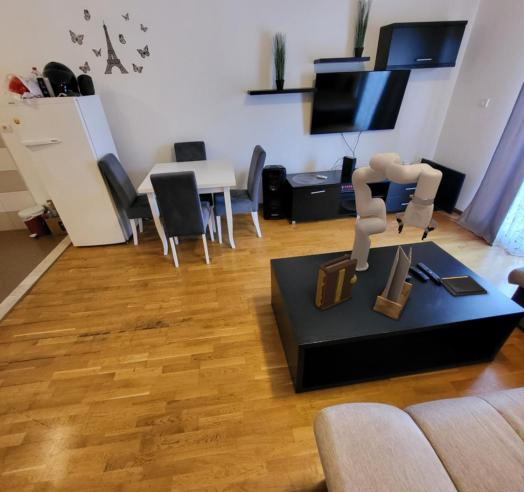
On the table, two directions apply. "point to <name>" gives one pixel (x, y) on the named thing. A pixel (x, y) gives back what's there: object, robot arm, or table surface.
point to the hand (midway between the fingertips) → (411, 235)
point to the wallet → (462, 286)
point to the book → (335, 281)
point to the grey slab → (398, 275)
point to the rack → (393, 303)
